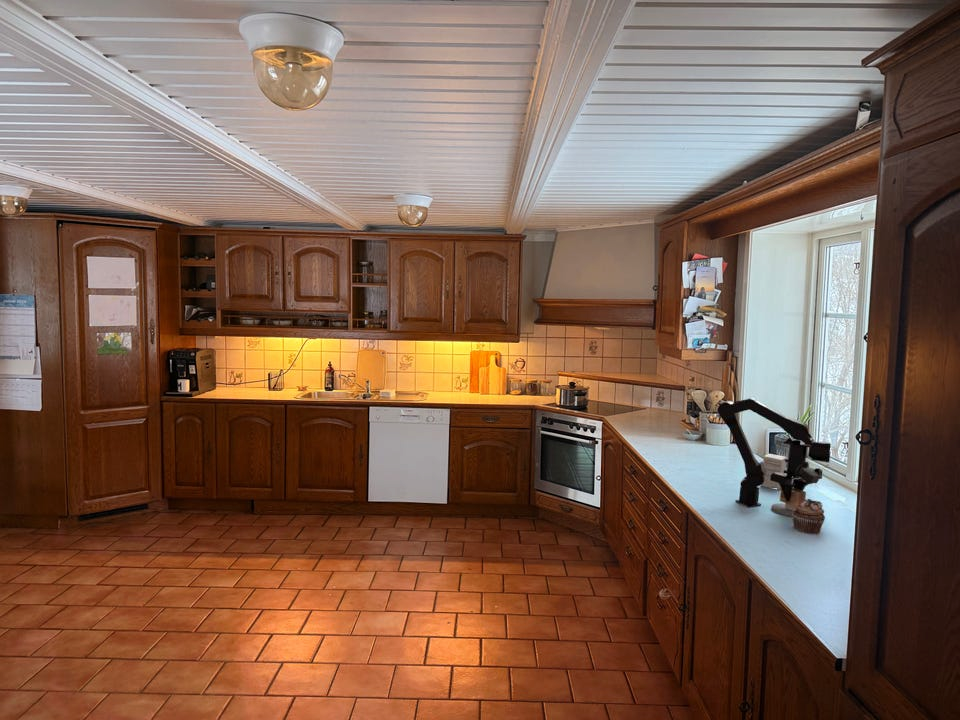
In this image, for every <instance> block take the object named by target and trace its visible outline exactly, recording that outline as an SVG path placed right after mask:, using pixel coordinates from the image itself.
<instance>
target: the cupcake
mask: <svg viewBox="0 0 960 720" xmlns="http://www.w3.org/2000/svg"><path fill="white" fill-rule="evenodd" d="M823 506H824V505H823V504H822V502H821V501H818V500H812V499H810V498H808V499H806V498H805V500H804V502H803V503H801V504H800V505H799V506H797V507H796V510H795V511H793V512H792V516H793V517H792V524H793V529H794V530H795V531H797V532H800V533H803V534H808V535H818V534H820V532H821V530H822V527H823V524H824V522H825V520H826V516H825V511H824V508H823Z"/></svg>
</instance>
